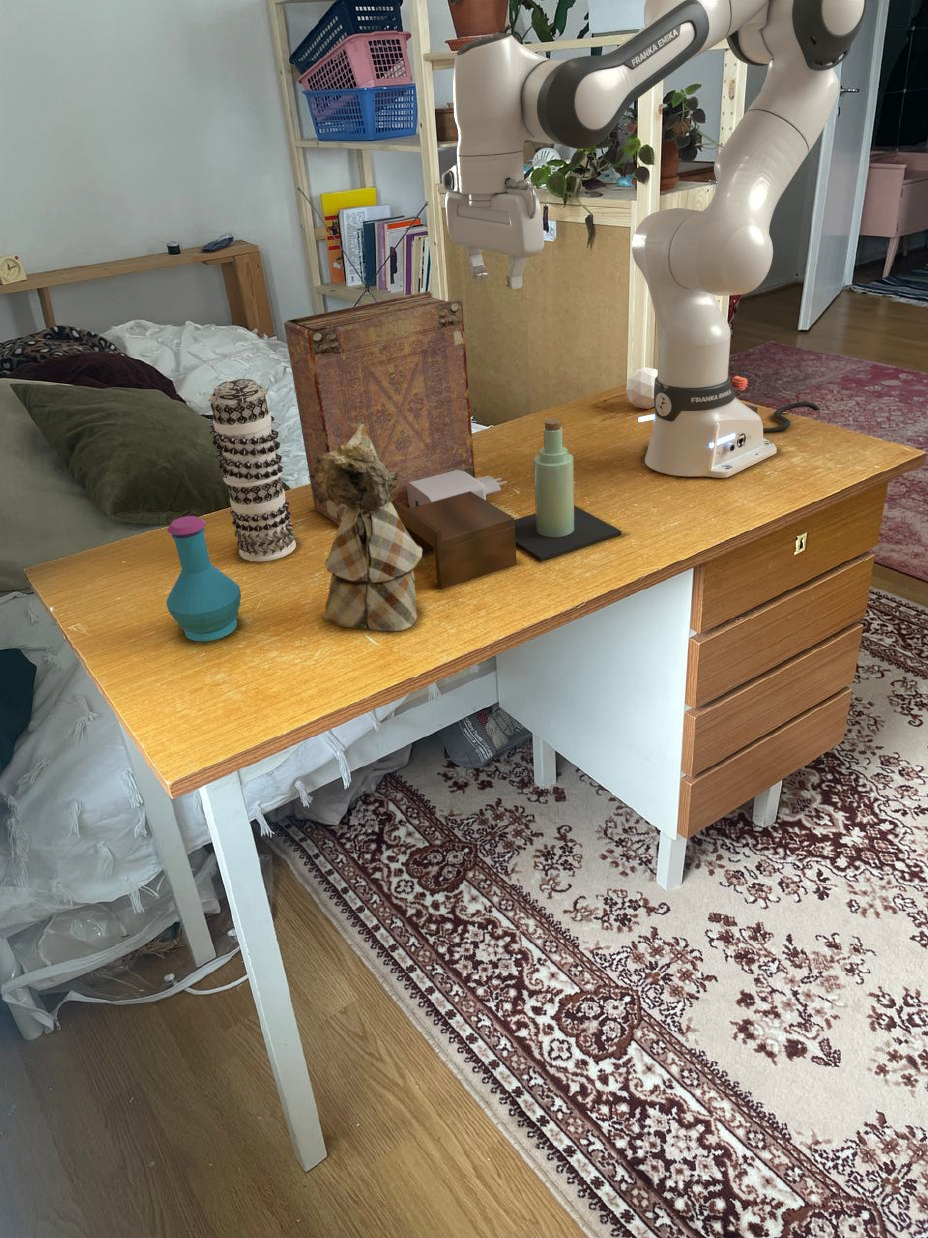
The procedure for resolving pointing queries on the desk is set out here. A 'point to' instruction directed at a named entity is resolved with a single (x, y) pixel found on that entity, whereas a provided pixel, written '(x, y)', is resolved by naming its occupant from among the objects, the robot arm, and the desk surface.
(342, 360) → the book
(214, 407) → the decorative candle
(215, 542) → the desk surface
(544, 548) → the mat
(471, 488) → the charger
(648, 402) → the geometric ball
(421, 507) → the shelf
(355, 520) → the plush toy
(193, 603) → the perfume bottle
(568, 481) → the bottle
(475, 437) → the desk surface
